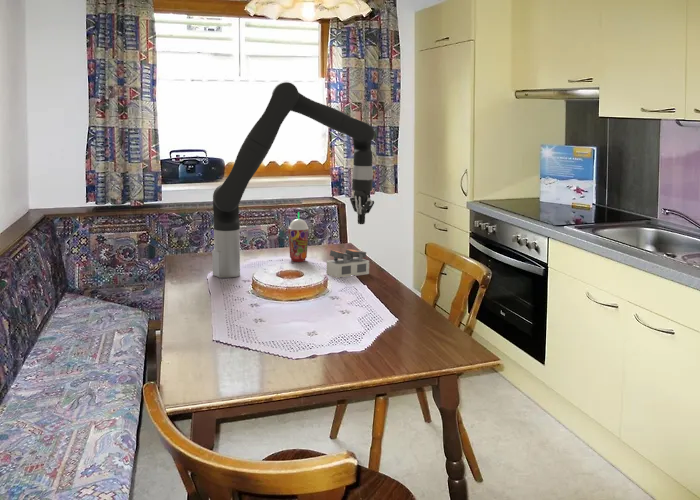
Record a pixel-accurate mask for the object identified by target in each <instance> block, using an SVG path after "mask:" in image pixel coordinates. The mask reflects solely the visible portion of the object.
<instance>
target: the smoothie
mask: <svg viewBox="0 0 700 500" xmlns="http://www.w3.org/2000/svg"><path fill="white" fill-rule="evenodd" d="M287 228H288V229H287V230H288V245H289V246H288V247H289V259H291V261H292V262H293V263H294V262H295V263H297V262H298V263H304V262H306V259H307V258H308V257H307V256H308V244H309V243H308V241H309V229H310V228H309V225H308V224H307V222H306V220H304V219H302V218H300V212H299V211H298V212H297V218H296V219H294V220H292V221H291V222H290V224H289V226H288V227H287Z"/></svg>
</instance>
